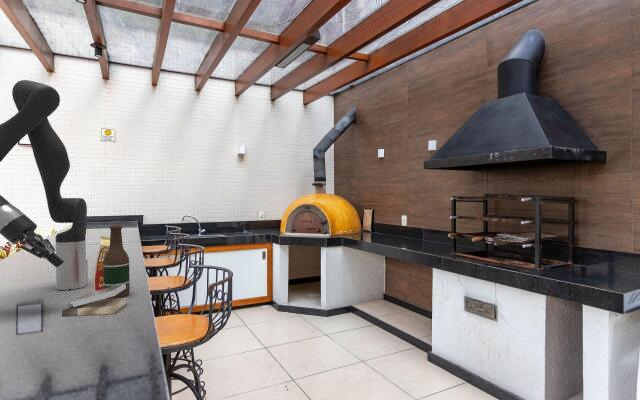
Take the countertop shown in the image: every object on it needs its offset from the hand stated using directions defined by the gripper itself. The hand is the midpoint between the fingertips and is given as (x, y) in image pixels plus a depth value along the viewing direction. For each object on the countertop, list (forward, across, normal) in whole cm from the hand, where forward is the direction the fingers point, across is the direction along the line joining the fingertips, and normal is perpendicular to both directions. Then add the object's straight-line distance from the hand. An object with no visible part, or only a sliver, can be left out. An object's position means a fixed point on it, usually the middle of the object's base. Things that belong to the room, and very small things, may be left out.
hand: (60, 264), depth 107 cm
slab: (+11, +2, -4) cm, 12 cm away
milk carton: (+15, -21, -3) cm, 26 cm away
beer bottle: (+18, -13, 0) cm, 22 cm away
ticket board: (+16, +2, -3) cm, 17 cm away
